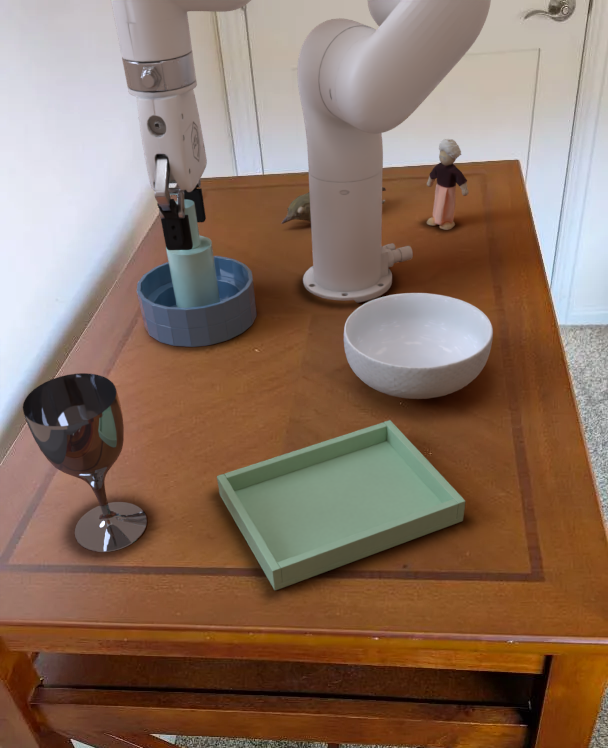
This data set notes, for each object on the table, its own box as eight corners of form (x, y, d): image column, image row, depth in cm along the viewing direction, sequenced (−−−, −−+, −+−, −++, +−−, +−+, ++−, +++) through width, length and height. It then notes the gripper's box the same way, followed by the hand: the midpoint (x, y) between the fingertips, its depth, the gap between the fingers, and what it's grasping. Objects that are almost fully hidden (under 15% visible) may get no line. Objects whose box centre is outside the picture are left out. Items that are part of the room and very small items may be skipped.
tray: (389, 439, 83) (390, 419, 81) (463, 521, 74) (465, 500, 72) (219, 495, 78) (216, 475, 76) (274, 591, 69) (272, 571, 67)
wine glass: (75, 503, 79) (30, 377, 68) (153, 496, 79) (120, 369, 68) (65, 559, 73) (14, 431, 62) (148, 550, 73) (112, 421, 63)
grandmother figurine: (416, 225, 122) (420, 139, 114) (427, 216, 125) (432, 131, 116) (460, 234, 119) (467, 147, 110) (471, 225, 121) (479, 139, 112)
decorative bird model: (275, 226, 125) (272, 195, 122) (381, 198, 131) (381, 167, 128) (289, 237, 122) (287, 205, 118) (397, 208, 128) (397, 176, 124)
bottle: (214, 303, 106) (197, 191, 96) (228, 321, 102) (212, 207, 92) (173, 313, 105) (152, 201, 94) (187, 332, 101) (165, 217, 90)
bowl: (234, 287, 111) (228, 246, 107) (273, 333, 101) (269, 290, 97) (133, 313, 107) (124, 272, 103) (164, 363, 97) (155, 320, 93)
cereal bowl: (470, 433, 83) (477, 376, 78) (325, 409, 88) (322, 354, 83) (498, 352, 94) (505, 299, 89) (368, 335, 99) (368, 283, 94)
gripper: (176, 95, 77) (203, 266, 89) (209, 51, 89) (228, 206, 101) (103, 98, 77) (140, 266, 90) (146, 53, 90) (173, 207, 102)
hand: (186, 234), depth 95 cm, fingers open, 7 cm apart
